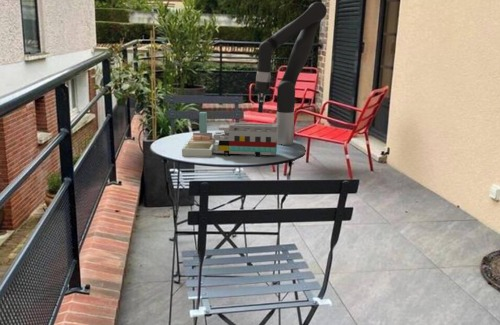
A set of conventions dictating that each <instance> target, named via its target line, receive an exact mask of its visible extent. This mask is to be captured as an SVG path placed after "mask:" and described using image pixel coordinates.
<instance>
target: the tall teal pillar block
mask: <svg viewBox="0 0 500 325" xmlns="http://www.w3.org/2000/svg"><path fill="white" fill-rule="evenodd" d="M198 114H199V118H198V119H199V123H198V125H199V132H192V136H194V135H210V138H212V136H213V132H208V112H207V111H200V112H199V113H198Z"/></svg>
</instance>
